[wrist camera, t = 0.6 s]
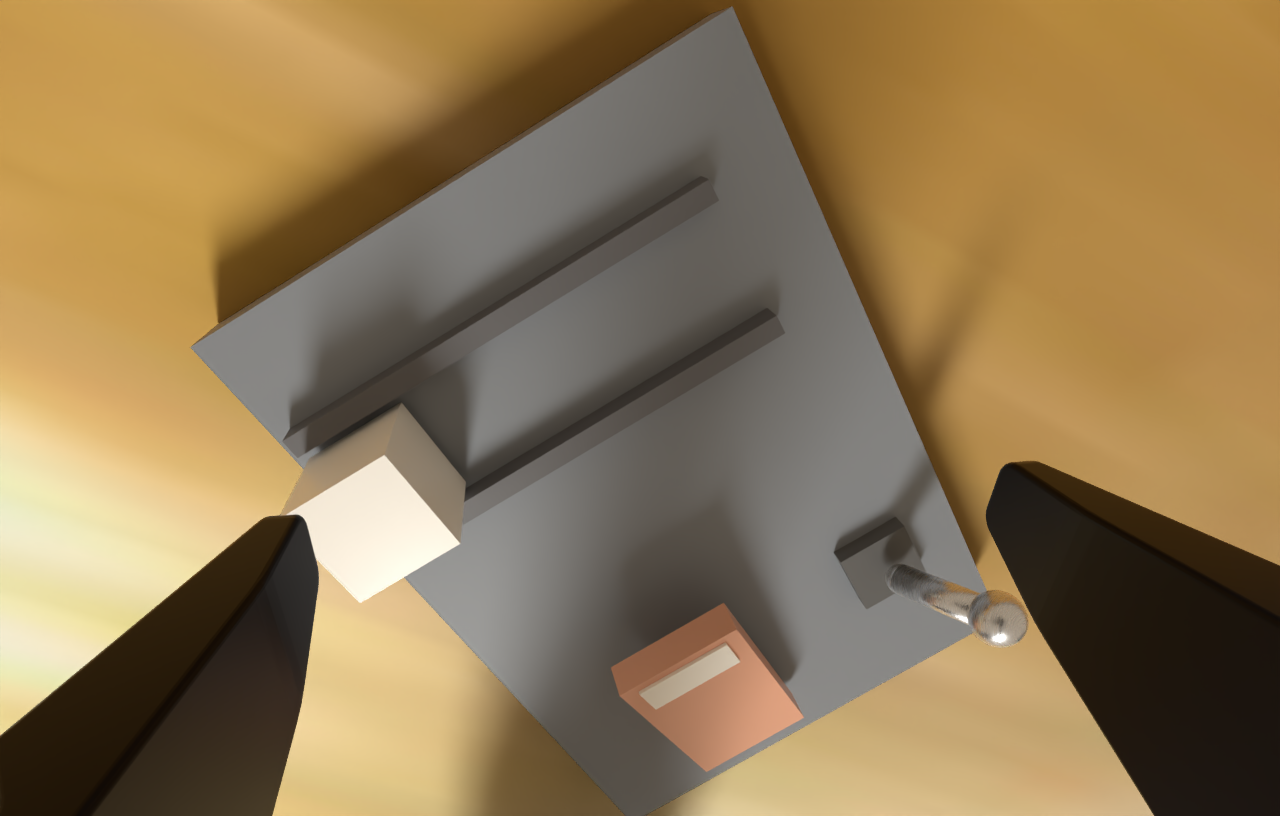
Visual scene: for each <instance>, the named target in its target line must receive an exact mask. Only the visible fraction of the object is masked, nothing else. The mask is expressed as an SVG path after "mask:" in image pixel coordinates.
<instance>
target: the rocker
mask: <svg viewBox="0 0 1280 816" xmlns="http://www.w3.org/2000/svg"><path fill="white" fill-rule="evenodd" d="M611 670H612V673H613V676H614V680H615V683H616V686H617V689H618V693H619V696H620V697H621V698H622V699H624V700H625V701H626V702H627V703H628V704H629V705H630V706H632V707H633V708H634V709H635V710H636V711H637V712H638V713H640V714H641V715H642V716H643V717H644V718H645V719H646V720H648V721H649V722H650V723H651V724H652V725H653V726H654V727H656V728H657V729H658V730H659V731H660V732H661V733H662V734H664V735H665V736H666V737H667V738H668V739H669V740H670V741H672V742H673V743H674V744H675V745H676V746H677V747H678V748H680V749H681V750H682V751H683V752H684V753H685V754H686V755H688V756H689V757H690V758H691V759H692V760H693V761H694V762H696V763H697V764H698V765H699V766H700V767H701V768H702V769H704V770H705V771H706V772H707V771H709V770H711V769H713V768H715V767H716V766H718V765H720V764H722V763H724V762H725V761H727V760H729V759H731V758H733V757H734V756H736V755H738V754H740V753H742V752H743V751H745V750H747V749H749V748H750V747H752V746H754V745H756V744H758V743H759V742H761V741H763V740H765V739H767V738H768V737H770V736H772V735H774V734H776V733H777V732H779V731H781V730H783V729H785V728H786V727H788V726H790V725H792V724H794V723H795V722H797V721H799V720H801V719H802V718H804V716H803V714H802V712H801V710H800V708H799V706H798V704H797V702H796V701H795V699H794V697H793V695H792V693H791V691H790V690H789V689H788V687H787V686H786V685H785V683H784V682H783V681H782V679H781V678H780V677H779V675H778V674H777V673H776V672H775V670H774V669H773V668H772V666H771V665H770V664H769V662H768V661H767V660H766V658H765V657H764V656H763V654H762V653H761V652H760V650H759V649H758V648H757V646H756V645H755V644H754V642H753V641H752V640H751V638H750V637H749V636H748V634H747V633H746V632H745V630H744V629H743V628H742V626H741V625H740V624H739V622H738V621H737V620H736V618H735V617H734V616H733V614H732V613H731V612H730V610H729V609H728V608H727V606H726V605H725V604H724V603H722V604H721V605H719V606H717V607H715V608H714V609H712V610H710V611H708V612H707V613H705V614H703V615H701V616H700V617H698V618H696V619H694V620H693V621H691V622H689V623H687V624H686V625H684V626H682V627H680V628H679V629H677V630H675V631H673V632H672V633H670V634H668V635H666V636H665V637H663V638H661V639H660V640H658V641H656V642H654V643H653V644H651V645H649V646H647V647H646V648H644V649H642V650H640V651H639V652H637V653H635V654H633V655H632V656H630V657H628V658H626V659H625V660H623V661H621V662H619V663H618V664H616V665H614V666H612V667H611Z"/></svg>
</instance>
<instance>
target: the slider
mask: <svg viewBox="0 0 1280 816" xmlns="http://www.w3.org/2000/svg"><path fill="white" fill-rule="evenodd" d="M465 486H466V481H465V480H464V479H463V478H462V476H461V475H460V474H459V473H458V472H457V470H456V469H455V468H454V467H453V465H452V464H451V463H450V462H449V460H448V459H447V458H446V457H445V455H444V454H443V453H442V452H441V451H440V449H439V448H438V447H437V446H436V444H435V443H434V442H433V441H432V439H431V438H430V437H429V436H428V434H427V433H426V432H425V431H424V430H423V428H422V427H421V426H420V425H419V423H418V422H417V421H416V420H415V418H414V417H413V416H412V415H411V413H410V412H409V411H408V410H407V409H406V407H405V406H404V405H403V404H402V402H401V403H399V404H397V405H396V406H394V407H392V408H391V409H389V410H387V411H386V412H384V413H382V414H381V415H379V416H378V417H376V418H374V419H373V420H371V421H369V422H368V423H366V424H364V425H363V426H361V427H360V428H358V429H356V430H355V431H353V432H351V433H350V434H348V435H346V436H345V437H343V438H342V439H340V440H338V441H337V442H335V443H333V444H332V445H330V446H328V447H327V448H325V449H324V450H322V451H320V452H319V453H317V454H315V455H314V456H312V457H310V458H309V460H308V462H307V464H306V466H305V468H304V470H303V472H302V474H301V475H300V477H299V479H298V481H297V483H296V485H295V487H294V489H293V491H292V493H291V495H290V497H289V499H288V501H287V503H286V504H285V506H284V508H283V510H282V512H281V514H280V515H294V514H297V515H300V516H302V517H303V518H304V519H305V521H306V523H307V526H308V530H309V534H310V538H311V542H312V546H313V550H314V554H315V558H316V559H317V560H318V561H319V562H320V563H321V564H322V565H323V566H324V567H325V568H326V569H327V570H328V571H329V572H330V573H331V574H332V575H333V576H334V577H335V578H336V579H337V580H338V581H339V582H340V583H341V584H342V585H343V586H344V587H345V588H346V589H347V590H348V591H349V592H350V593H351V594H352V596H353V597H354V598H355V599H356V600H357V601H358V602H359V603H361V602H363V601H365V600H366V599H368V598H370V597H371V596H373V595H375V594H376V593H378V592H380V591H381V590H383V589H385V588H387V587H388V586H390V585H392V584H393V583H395V582H397V581H398V580H400V579H402V578H403V577H405V576H407V575H408V574H410V573H412V572H413V571H415V570H417V569H419V568H420V567H422V566H424V565H425V564H427V563H429V562H430V561H432V560H434V559H435V558H437V557H439V556H440V555H442V554H444V553H445V552H447V551H449V550H451V549H452V548H454V547H456V546H457V545H459V544H460V542H461V531H462V520H463V509H464V497H465Z"/></svg>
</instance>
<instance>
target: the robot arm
mask: <svg viewBox="0 0 1280 816" xmlns="http://www.w3.org/2000/svg"><path fill="white" fill-rule="evenodd" d="M986 522H987V526H988V528H989V531H990V533H991V535H992V537H993V539H994V541H995V543H996V545H997V547H998V549H999V551H1000V553H1001V555H1002V557H1003V559H1004V561H1005V563H1006V565H1007V568H1008V570H1009V572H1010V574H1011V576H1012V578H1013V580H1014V582H1015V584H1016V586H1017V588H1018V590H1019V592H1020V594H1021V596H1022V598H1023V600H1024V602H1025V604H1026V606H1027V608H1028V610H1029V612H1030V614H1031V616H1032V618H1033V620H1034V622H1035V624H1036V625H1037V627H1038V629H1039V630H1040V632H1041V634H1042V636H1043V637H1044V639H1045V641H1046V642H1047V644H1048V645H1049V647H1050V649H1051V650H1052V652H1053V653H1054V655H1055V657H1056V658H1057V660H1058V662H1059V663H1060V665H1061V666H1062V668H1063V670H1064V671H1065V673H1066V674H1067V676H1068V678H1069V679H1070V681H1071V682H1072V684H1073V686H1074V687H1075V689H1076V691H1077V692H1078V694H1079V695H1080V697H1081V699H1082V700H1083V702H1084V703H1085V705H1086V707H1087V708H1088V710H1089V712H1090V713H1091V715H1092V716H1093V718H1094V720H1095V721H1096V723H1097V724H1098V726H1099V728H1100V729H1101V731H1102V732H1103V734H1104V736H1105V737H1106V739H1107V741H1108V742H1109V744H1110V745H1111V747H1112V749H1113V750H1114V752H1115V753H1116V755H1117V757H1118V758H1119V760H1120V762H1121V763H1122V765H1123V766H1124V768H1125V770H1126V771H1127V773H1128V774H1129V776H1130V778H1131V779H1132V781H1133V782H1134V784H1135V786H1136V787H1137V789H1138V791H1139V792H1140V794H1141V795H1142V797H1143V799H1144V800H1145V802H1146V803H1147V805H1148V807H1149V808H1150V810H1151V812H1152V813H1153V815H1154V816H1280V566H1279V565H1277V564H1275V563H1272V562H1270V561H1268V560H1265V559H1263V558H1261V557H1258V556H1256V555H1254V554H1251V553H1249V552H1247V551H1245V550H1242V549H1240V548H1238V547H1235V546H1233V545H1231V544H1228V543H1226V542H1224V541H1221V540H1219V539H1217V538H1214V537H1212V536H1210V535H1207V534H1205V533H1203V532H1200V531H1198V530H1196V529H1193V528H1191V527H1189V526H1187V525H1184V524H1182V523H1180V522H1177V521H1175V520H1173V519H1170V518H1168V517H1166V516H1163V515H1161V514H1159V513H1156V512H1154V511H1152V510H1149V509H1147V508H1145V507H1142V506H1140V505H1138V504H1136V503H1133V502H1131V501H1129V500H1126V499H1124V498H1122V497H1119V496H1117V495H1115V494H1112V493H1110V492H1108V491H1105V490H1103V489H1101V488H1098V487H1096V486H1094V485H1091V484H1089V483H1087V482H1084V481H1082V480H1080V479H1078V478H1075V477H1073V476H1071V475H1068V474H1066V473H1064V472H1061V471H1059V470H1057V469H1054V468H1052V467H1050V466H1047V465H1045V464H1043V463H1040V462H1037V461H1023V462H1011V463H1008V464H1006V465H1004V466H1003V468H1002V469H1001V470H1000V472H999V475H998V478H997V481H996V484H995V486H994V489H993V492H992V495H991V498H990V501H989V503H988V506H987V510H986ZM318 585H319V572H318V566H317V561H316V558H315V554H314V550H313V546H312V542H311V538H310V534H309V530H308V526H307V523H306V521H305V519H304V518H303V517H302V516H300V515H297V514H294V515H280V516H269V517H265V518H263V519H262V520H260V521H259V522H258V523H256V524H255V525H254V526H253V527H251V528H250V529H249V530H248V531H247V532H245V533H244V534H243V535H242V536H241V537H239V538H238V539H237V540H236V541H235V542H233V543H232V544H231V545H230V546H229V547H227V548H226V549H225V550H224V551H222V552H221V553H220V554H219V555H218V556H216V557H215V558H214V559H213V560H212V561H210V562H209V563H208V564H207V565H206V566H204V567H203V568H202V569H201V570H200V571H198V572H197V573H196V574H195V575H194V576H192V577H191V578H190V579H189V580H187V581H186V582H185V583H184V584H183V585H181V586H180V587H179V588H178V589H177V590H175V591H174V592H173V593H172V594H171V595H169V596H168V597H167V598H166V599H165V600H163V601H162V602H161V603H160V604H159V605H157V606H156V607H155V608H154V609H152V610H151V611H150V612H149V613H148V614H146V615H145V616H144V617H143V618H142V619H140V620H139V621H138V622H137V623H136V624H134V625H133V626H132V627H131V628H130V629H128V630H127V631H126V632H125V633H123V634H122V635H121V636H120V637H119V638H117V639H116V640H115V641H114V642H113V643H111V644H110V645H109V646H108V647H107V648H105V649H104V650H103V651H102V652H101V653H99V654H98V655H97V656H96V657H95V658H93V659H92V660H91V661H90V662H88V663H87V664H86V665H85V666H84V667H82V668H81V669H80V670H79V671H78V672H76V673H75V674H74V675H73V676H72V677H70V678H69V679H68V680H67V681H66V682H64V683H63V684H62V685H61V686H59V687H58V688H57V689H56V690H55V691H53V692H52V693H51V694H50V695H49V696H47V697H46V698H45V699H44V700H43V701H41V702H40V703H39V704H38V705H37V706H35V707H34V708H33V709H32V710H31V711H29V712H28V713H27V714H26V715H24V716H23V717H22V718H21V719H20V720H18V721H17V722H16V723H15V724H14V725H12V726H11V727H10V728H9V729H8V730H6V731H5V732H4V733H3V734H2V735H0V816H272V814H273V811H274V807H275V803H276V799H277V796H278V792H279V788H280V785H281V781H282V777H283V773H284V770H285V766H286V762H287V758H288V755H289V751H290V747H291V743H292V740H293V736H294V732H295V729H296V725H297V721H298V716H299V712H300V708H301V703H302V697H303V691H304V685H305V678H306V671H307V664H308V657H309V650H310V643H311V635H312V628H313V621H314V614H315V607H316V600H317V593H318Z"/></svg>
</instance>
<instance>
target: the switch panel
mask: <svg viewBox="0 0 1280 816" xmlns="http://www.w3.org/2000/svg"><path fill="white" fill-rule="evenodd" d="M191 349H192V350H193V351H194V352H195V353H196V354H197V355H198V356H199V357H200V358H201V359H202V360H203V361H204V363H205V364H206V365H207V366H208V367H209V368H210V369H211V370H212V371H213V372H214V373H215V374H216V375H217V377H218V378H219V379H220V380H221V381H222V382H223V383H224V384H225V385H226V386H227V387H228V388H229V389H230V391H231V392H232V393H233V394H234V395H235V396H236V397H237V398H238V399H239V400H240V401H241V402H242V403H243V405H244V406H245V407H246V408H247V409H248V410H249V411H250V412H251V413H252V414H253V415H254V416H255V417H256V419H257V420H258V421H259V422H260V423H261V424H262V425H263V426H264V427H265V428H266V429H267V430H268V431H269V433H270V434H271V435H272V436H273V437H274V438H275V439H276V440H277V441H278V442H279V443H280V444H281V445H282V447H283V448H284V449H285V450H286V451H287V452H288V453H289V454H290V455H291V456H292V457H293V458H294V459H295V461H296V462H297V463H298V464H299V465H300V466H301V467H302V468H303V469H304V468H305V466H306V464H307V462H308V460H309V458H310V457H312V456H314V455H315V454H317V453H319V452H320V451H322V450H324V449H325V448H327V447H328V446H330V445H332V444H333V443H335V442H337V441H338V440H340V439H342V438H343V437H345V436H346V435H348V434H350V433H351V432H353V431H355V430H356V429H358V428H360V427H361V426H363V425H364V424H366V423H368V422H369V421H371V420H373V419H374V418H376V417H378V416H379V415H381V414H382V413H384V412H386V411H387V410H389V409H391V408H392V407H394V406H396V405H397V404H399V403H401V402H402V404H403V405H404V406H405V407H406V409H407V410H408V411H409V412H410V413H411V415H412V416H413V417H414V418H415V420H416V421H417V422H418V423H419V425H420V426H421V427H422V428H423V430H424V431H425V432H426V433H427V434H428V436H429V437H430V438H431V439H432V441H433V442H434V443H435V444H436V446H437V447H438V448H439V449H440V451H441V452H442V453H443V454H444V455H445V457H446V458H447V459H448V460H449V462H450V463H451V464H452V465H453V467H454V468H455V469H456V470H457V472H458V473H459V474H460V475H461V476H462V478H463V479H464V480H465V481H466V486H465V497H464V509H463V520H462V531H461V542H460V544H459V545H457V546H456V547H454V548H452V549H451V550H449V551H447V552H445V553H444V554H442V555H440V556H439V557H437V558H435V559H434V560H432V561H430V562H429V563H427V564H425V565H424V566H422V567H420V568H419V569H417V570H415V571H413V572H412V573H410V574H408V575H407V576H405V577H404V578H405V579H406V580H407V581H408V582H409V583H410V584H411V585H412V586H413V588H414V589H415V590H416V591H417V592H418V593H419V594H420V595H421V596H422V597H423V598H424V599H425V600H426V602H427V603H428V604H429V605H430V606H431V607H432V608H433V609H434V610H435V611H436V612H437V613H438V614H439V616H440V617H441V618H442V619H443V620H444V621H445V622H446V623H447V624H448V625H449V626H450V627H451V628H452V630H453V631H454V632H455V633H456V634H457V635H458V636H459V637H460V638H461V639H462V640H463V641H464V642H465V644H466V645H467V646H468V647H469V648H470V649H471V650H472V651H473V652H474V653H475V654H476V655H477V656H478V658H479V659H480V660H481V661H482V662H483V663H484V664H485V665H486V666H487V667H488V668H489V669H490V670H491V672H492V673H493V674H494V675H495V676H496V677H497V678H498V679H499V680H500V681H501V682H502V683H503V684H504V686H505V687H506V688H507V689H508V690H509V691H510V692H511V693H512V694H513V695H514V696H515V697H516V698H517V700H518V701H519V702H520V703H521V704H522V705H523V706H524V707H525V708H526V709H527V710H528V711H529V712H530V714H531V715H532V716H533V717H534V718H535V719H536V720H537V721H538V722H539V723H540V724H541V725H542V726H543V728H544V729H545V730H546V731H547V732H548V733H549V734H550V735H551V736H552V737H553V738H554V739H555V740H556V741H557V743H558V744H559V745H560V746H561V747H562V748H563V749H564V750H565V751H566V752H567V753H568V754H569V755H570V757H571V758H572V759H573V760H574V761H575V762H576V763H577V764H578V765H579V766H580V767H581V768H582V769H583V771H584V772H585V773H586V774H587V775H588V776H589V777H590V778H591V779H592V780H593V781H594V782H595V783H596V785H597V786H598V787H599V788H600V789H601V790H602V791H603V792H604V793H605V794H606V795H607V796H608V797H609V799H610V800H611V801H612V802H613V803H614V804H615V805H616V806H617V807H618V808H619V809H620V810H621V811H622V813H623V814H624V815H625V816H645V815H647V814H649V813H651V812H652V811H654V810H656V809H658V808H660V807H661V806H663V805H665V804H667V803H669V802H670V801H672V800H674V799H676V798H677V797H679V796H681V795H683V794H685V793H686V792H688V791H690V790H692V789H694V788H695V787H697V786H699V785H701V784H703V783H704V782H706V781H708V780H710V779H712V778H713V777H715V776H717V775H719V774H721V773H722V772H724V771H726V770H728V769H730V768H731V767H733V766H735V765H737V764H739V763H740V762H742V761H744V760H746V759H748V758H749V757H751V756H753V755H755V754H756V753H758V752H760V751H762V750H764V749H765V748H767V747H769V746H771V745H773V744H774V743H776V742H778V741H780V740H782V739H783V738H785V737H787V736H789V735H791V734H792V733H794V732H796V731H798V730H800V729H801V728H803V727H805V726H807V725H809V724H810V723H812V722H814V721H816V720H818V719H819V718H821V717H823V716H825V715H826V714H828V713H830V712H832V711H834V710H835V709H837V708H839V707H841V706H843V705H844V704H846V703H848V702H850V701H852V700H853V699H855V698H857V697H859V696H861V695H862V694H864V693H866V692H868V691H870V690H871V689H873V688H875V687H877V686H879V685H880V684H882V683H884V682H886V681H888V680H889V679H891V678H893V677H895V676H896V675H898V674H900V673H902V672H904V671H905V670H907V669H909V668H911V667H913V666H914V665H916V664H918V663H920V662H922V661H923V660H925V659H927V658H929V657H931V656H932V655H934V654H936V653H938V652H940V651H941V650H943V649H945V648H947V647H949V646H950V645H952V644H954V643H956V642H958V641H959V640H961V639H963V638H965V637H967V636H968V635H970V634H972V633H973V632H972V630H971V629H970V627H969V625H967V624H965V623H963V622H961V621H958V620H956V619H954V618H951V617H949V616H947V615H944V614H942V613H940V612H937V611H935V610H933V609H931V608H928V607H926V606H924V605H921V604H919V603H917V602H914V601H912V600H910V599H908V598H905V597H903V596H901V595H898V594H896V593H894V592H893V591H891V590H890V589H889V587H888V586H887V584H886V579H885V578H886V573H887V571H888V569H889V568H890V567H891V566H893V565H895V564H906V565H908V566H911V567H914V568H916V569H919V570H921V571H924V572H926V573H929V574H932V575H934V576H937V577H939V578H942V579H945V580H947V581H950V582H952V583H955V584H957V585H960V586H963V587H965V588H968V589H970V590H973V591H975V592H978V593H982V592H985V591H987V590H986V588H985V586H984V583H983V581H982V579H981V577H980V574H979V572H978V570H977V567H976V565H975V563H974V560H973V558H972V556H971V554H970V551H969V549H968V547H967V544H966V542H965V540H964V537H963V535H962V533H961V531H960V528H959V526H958V524H957V521H956V519H955V517H954V514H953V512H952V510H951V508H950V505H949V503H948V501H947V498H946V496H945V494H944V491H943V489H942V487H941V485H940V482H939V480H938V478H937V475H936V473H935V471H934V469H933V466H932V464H931V462H930V459H929V457H928V455H927V452H926V450H925V448H924V446H923V443H922V441H921V439H920V436H919V434H918V432H917V429H916V427H915V425H914V423H913V420H912V418H911V416H910V413H909V411H908V409H907V406H906V404H905V402H904V400H903V397H902V395H901V393H900V390H899V388H898V386H897V383H896V381H895V379H894V377H893V374H892V372H891V370H890V367H889V365H888V363H887V361H886V358H885V356H884V354H883V351H882V349H881V347H880V344H879V342H878V340H877V338H876V335H875V333H874V331H873V328H872V326H871V324H870V321H869V319H868V317H867V315H866V312H865V310H864V308H863V305H862V303H861V301H860V298H859V296H858V294H857V292H856V289H855V287H854V285H853V282H852V280H851V278H850V275H849V273H848V271H847V269H846V266H845V264H844V262H843V259H842V257H841V255H840V253H839V250H838V248H837V246H836V243H835V241H834V239H833V236H832V234H831V232H830V230H829V227H828V225H827V223H826V220H825V218H824V216H823V213H822V211H821V209H820V207H819V204H818V202H817V200H816V197H815V195H814V193H813V190H812V188H811V186H810V184H809V181H808V179H807V177H806V174H805V172H804V170H803V167H802V165H801V163H800V161H799V158H798V156H797V154H796V151H795V149H794V147H793V145H792V142H791V140H790V138H789V135H788V133H787V131H786V128H785V126H784V124H783V122H782V119H781V117H780V115H779V112H778V110H777V108H776V105H775V103H774V101H773V99H772V96H771V94H770V92H769V89H768V87H767V85H766V82H765V80H764V78H763V76H762V73H761V71H760V69H759V66H758V64H757V62H756V59H755V57H754V55H753V53H752V50H751V48H750V46H749V43H748V41H747V39H746V37H745V34H744V32H743V30H742V27H741V25H740V23H739V20H738V18H737V16H736V14H735V11H734V9H733V7H729V8H726V9H724V10H721V11H718V12H715V13H712V14H710V15H709V16H707V17H705V18H704V19H702V20H701V21H699V22H697V23H696V24H694V25H693V26H691V27H690V28H688V29H686V30H685V31H683V32H682V33H680V34H678V35H677V36H675V37H674V38H672V39H670V40H669V41H667V42H666V43H664V44H663V45H661V46H659V47H658V48H656V49H655V50H653V51H651V52H650V53H648V54H647V55H645V56H643V57H642V58H640V59H639V60H637V61H636V62H634V63H632V64H631V65H629V66H628V67H626V68H624V69H623V70H621V71H620V72H618V73H616V74H615V75H613V76H612V77H610V78H608V79H607V80H605V81H604V82H602V83H601V84H599V85H597V86H596V87H594V88H593V89H591V90H589V91H588V92H586V93H585V94H583V95H581V96H580V97H578V98H577V99H575V100H574V101H572V102H570V103H569V104H567V105H566V106H564V107H562V108H561V109H559V110H558V111H556V112H554V113H553V114H551V115H550V116H548V117H547V118H545V119H543V120H542V121H540V122H539V123H537V124H535V125H534V126H532V127H531V128H529V129H527V130H526V131H524V132H523V133H521V134H520V135H518V136H516V137H515V138H513V139H512V140H510V141H508V142H507V143H505V144H504V145H502V146H500V147H499V148H497V149H496V150H494V151H492V152H491V153H489V154H488V155H486V156H485V157H483V158H481V159H480V160H478V161H477V162H475V163H473V164H472V165H470V166H469V167H467V168H465V169H464V170H462V171H461V172H459V173H458V174H456V175H454V176H453V177H451V178H450V179H448V180H446V181H445V182H443V183H442V184H440V185H438V186H437V187H435V188H434V189H432V190H431V191H429V192H427V193H426V194H424V195H423V196H421V197H419V198H418V199H416V200H415V201H413V202H411V203H410V204H408V205H407V206H405V207H404V208H402V209H400V210H399V211H397V212H396V213H394V214H392V215H391V216H389V217H388V218H386V219H384V220H383V221H381V222H380V223H378V224H376V225H375V226H373V227H372V228H370V229H369V230H367V231H365V232H364V233H362V234H361V235H359V236H357V237H356V238H354V239H353V240H351V241H349V242H348V243H346V244H345V245H343V246H342V247H340V248H338V249H337V250H335V251H334V252H332V253H330V254H329V255H327V256H326V257H324V258H322V259H321V260H319V261H318V262H316V263H315V264H313V265H311V266H310V267H308V268H307V269H305V270H303V271H302V272H300V273H299V274H297V275H295V276H294V277H292V278H291V279H289V280H287V281H286V282H284V283H283V284H281V285H280V286H278V287H276V288H275V289H273V290H272V291H270V292H268V293H267V294H265V295H264V296H262V297H260V298H259V299H257V300H256V301H254V302H253V303H251V304H249V305H248V306H246V307H245V308H243V309H241V310H240V311H238V312H237V313H235V314H233V315H232V316H230V317H229V318H227V319H226V320H224V321H222V322H221V323H219V324H218V325H216V326H215V327H214V328H213V329H212V330H210V331H209V332H208V333H207V334H206V335H204V336H203V337H202V338H201V339H200V340H198V341H197V342H196V343H195V344H194V345H192V346H191ZM722 603H724V604H725V605H726V606H727V608H728V609H729V610H730V612H731V613H732V614H733V616H734V617H735V618H736V620H737V621H738V622H739V624H740V625H741V626H742V628H743V629H744V630H745V632H746V633H747V634H748V636H749V637H750V638H751V640H752V641H753V642H754V644H755V645H756V646H757V648H758V649H759V650H760V652H761V653H762V654H763V656H764V657H765V658H766V660H767V661H768V662H769V664H770V665H771V666H772V668H773V669H774V670H775V672H776V673H777V674H778V675H779V677H780V678H781V679H782V681H783V682H784V683H785V685H786V686H787V687H788V689H789V690H790V691H791V693H792V695H793V697H794V699H795V701H796V702H797V704H798V706H799V708H800V710H801V712H802V714H803V716H804V718H802V719H801V720H799V721H797V722H795V723H794V724H792V725H790V726H788V727H786V728H785V729H783V730H781V731H779V732H777V733H776V734H774V735H772V736H770V737H768V738H767V739H765V740H763V741H761V742H759V743H758V744H756V745H754V746H752V747H750V748H749V749H747V750H745V751H743V752H742V753H740V754H738V755H736V756H734V757H733V758H731V759H729V760H727V761H725V762H724V763H722V764H720V765H718V766H716V767H715V768H713V769H711V770H709V771H707V772H706V771H705V770H704V769H702V768H701V767H700V766H699V765H698V764H697V763H696V762H694V761H693V760H692V759H691V758H690V757H689V756H688V755H686V754H685V753H684V752H683V751H682V750H681V749H680V748H678V747H677V746H676V745H675V744H674V743H673V742H672V741H670V740H669V739H668V738H667V737H666V736H665V735H664V734H662V733H661V732H660V731H659V730H658V729H657V728H656V727H654V726H653V725H652V724H651V723H650V722H649V721H648V720H646V719H645V718H644V717H643V716H642V715H641V714H640V713H638V712H637V711H636V710H635V709H634V708H633V707H632V706H630V705H629V704H628V703H627V702H626V701H625V700H624V699H622V698H621V697H620V696H619V693H618V689H617V686H616V683H615V680H614V676H613V673H612V670H611V667H612V666H614V665H616V664H618V663H619V662H621V661H623V660H625V659H626V658H628V657H630V656H632V655H633V654H635V653H637V652H639V651H640V650H642V649H644V648H646V647H647V646H649V645H651V644H653V643H654V642H656V641H658V640H660V639H661V638H663V637H665V636H666V635H668V634H670V633H672V632H673V631H675V630H677V629H679V628H680V627H682V626H684V625H686V624H687V623H689V622H691V621H693V620H694V619H696V618H698V617H700V616H701V615H703V614H705V613H707V612H708V611H710V610H712V609H714V608H715V607H717V606H719V605H721V604H722Z"/></svg>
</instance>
